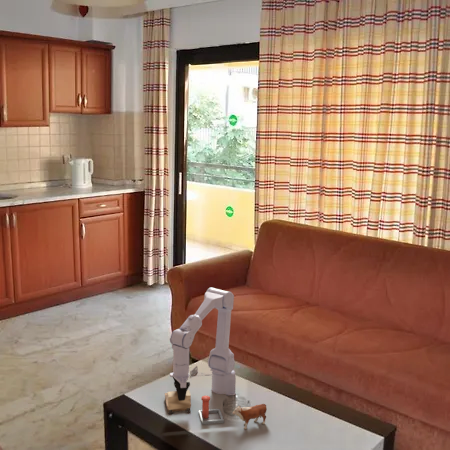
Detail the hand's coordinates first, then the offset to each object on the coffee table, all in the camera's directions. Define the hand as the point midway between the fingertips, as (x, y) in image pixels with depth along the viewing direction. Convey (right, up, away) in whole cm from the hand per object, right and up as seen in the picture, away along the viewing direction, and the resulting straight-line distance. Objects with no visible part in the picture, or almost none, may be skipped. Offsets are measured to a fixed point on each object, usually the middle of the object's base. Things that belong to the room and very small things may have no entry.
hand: (180, 396), depth 202 cm
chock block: (-1, -4, +1) cm, 4 cm away
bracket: (+7, -3, +36) cm, 37 cm away
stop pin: (+9, -8, +2) cm, 12 cm away
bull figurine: (+25, -10, -1) cm, 27 cm away
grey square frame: (+11, -9, +2) cm, 14 cm away
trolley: (-2, -7, +11) cm, 13 cm away
